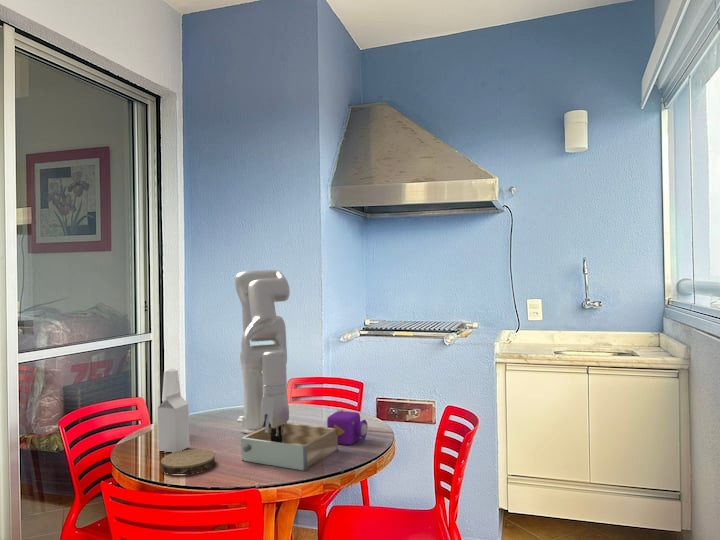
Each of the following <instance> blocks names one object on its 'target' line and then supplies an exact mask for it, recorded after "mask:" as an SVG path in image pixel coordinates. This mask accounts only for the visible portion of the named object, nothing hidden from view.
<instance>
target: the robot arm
mask: <svg viewBox="0 0 720 540" xmlns="http://www.w3.org/2000/svg"><path fill="white" fill-rule="evenodd" d="M234 285H235V290H236V293H237V296H238V298H239V301H240V303H241V310H242V311H241V312H242V313H241V314H242V315H241V316H242V333H243V334H242V336H241V342H240V343H241V351H240V353H239V359H240V364H241V365H240V366H241V371H242V382H243V386H242V387H243V409H244V410H243V413H244V415H240V416H239V417H238V418H237V420H236V421H237V423H238V424H239V423H240V424H242V425H241V427H240V432H241V433H244V434H247V435H248V434H251V433H253V432H255V431H257V430H260V429H262V428H264V427H265V433H269V434H270V436H271V441H273V442H280V443H282V435H281V434H283V428H284V426H285V425H286V424H287V423H288V421H289V419H290V408H289V407H290V406H289V399H288V397H289V396H288V381H287V376H288V375H287V364H288V345H287V330H286V324H285V320H284V318H283V317H282V316H280V315H277V312H276V311H277V310H276V306H275V303H278V302H280V303H281V302H286V301H287V300H289V298H290V294H291V293H290V292H291V291H290V285H289V282H288V280H287V278H286V277H285V275H284V274H283V272H282V271H280V270H276V269H275V270H274V269H271V270H270V269H268V270H267V269H265V270H261V269H260V270H258V269H257V270H245V271H241V272H238V273H237V274H236V276H235V278H234ZM287 302H288V301H287ZM270 341H271V342H273V343H270V344H258V345H257V344H256V345H255V344H254V345H251V342H252V343H253V342H254V343H255V342H257V343H258V342H270Z"/></svg>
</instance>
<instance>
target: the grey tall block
mask: <svg viewBox="0 0 720 540" xmlns="http://www.w3.org/2000/svg"><path fill="white" fill-rule="evenodd" d="M180 386H181V385H180V378H179V372H178V369H177V368H168V369H167V368H166V369H164V371H163V380H162V395H161V396H162V398H161V401H162V403H163V402H164V399H165V398H166V396H168V395H171V394H174V393H176V392H180V395H181V396H182V394H181V387H180Z"/></svg>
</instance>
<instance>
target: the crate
mask: <svg viewBox="0 0 720 540" xmlns="http://www.w3.org/2000/svg"><path fill="white" fill-rule="evenodd" d="M281 435H282V443H287V444H294V445H301V446H307V470H309V469H310V468H312V467H314V466H315V465H317V464H318V463H320V462H321V461H324V459H326V458H328V457H330V456H331V455H332V454H334V453H336V452H337V451H339V444H338V431H337V429H335V428H327V427H326V426H324V427H323V426H318V425H317V426H316V425H309V424H300V423H292V422H287V424H286V425H285V426H284V428H283V434H281ZM243 437H244V438H251V439H258V440H266V441H271V436H270V434H269V433H265V427H264V428H262V429H260V430H257V431H255V432H253V433H251V434H248V433H247V434H246V435H244V436H242V437H241V438H243ZM335 451H336V452H335Z"/></svg>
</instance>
